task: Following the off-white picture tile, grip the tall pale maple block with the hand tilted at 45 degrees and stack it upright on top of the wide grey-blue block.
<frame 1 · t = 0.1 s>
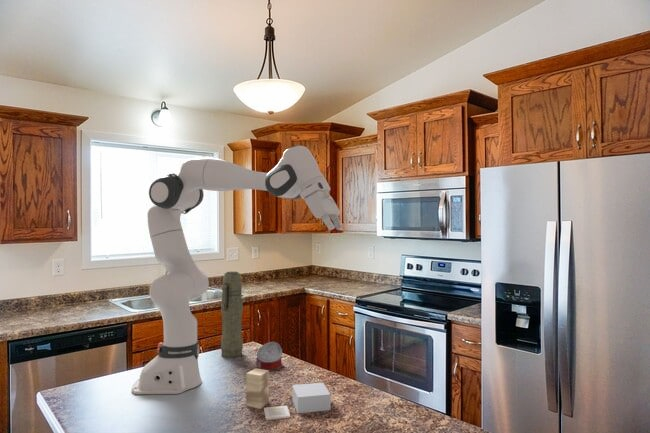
hand: (336, 229, 139), 54 cm above the countertop, tool tilted 30°, fingers open, 8 cm apart
maple block: (257, 404, 137), on the countertop
canned food: (269, 366, 173), on the countertop
thermos: (231, 355, 187), on the countertop
picture tile: (276, 413, 130), on the countertop
grey-blue block: (310, 405, 136), on the countertop
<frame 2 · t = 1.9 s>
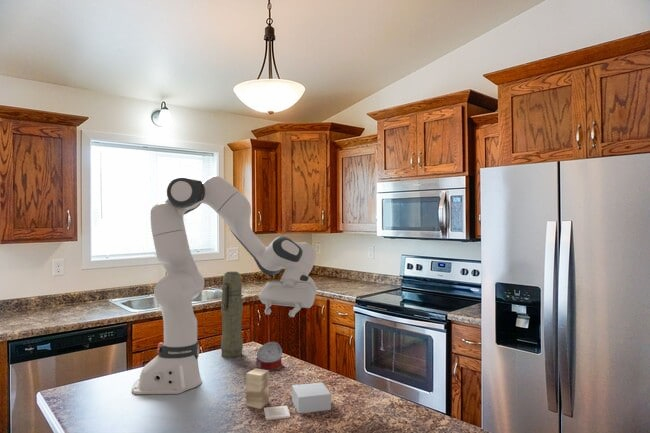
hand: (278, 314, 148), 25 cm above the countertop, tool tilted 45°, fingers open, 8 cm apart
nothing on the countertop moved.
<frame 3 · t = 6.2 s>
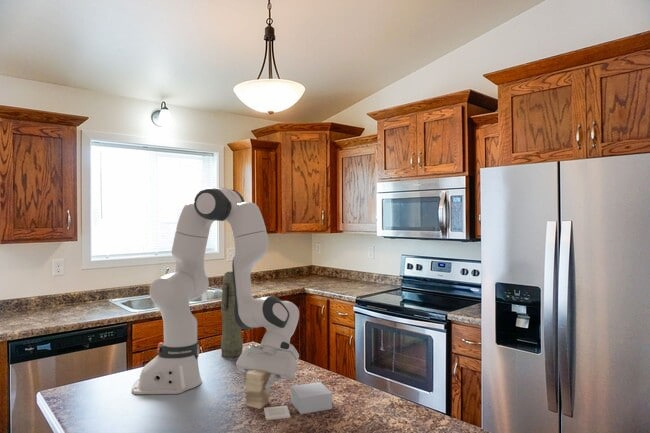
hand: (256, 387, 136), 5 cm above the countertop, tool tilted 45°, fingers closed on maple block, 5 cm apart
maple block: (257, 404, 137), on the countertop, touching gripper
everything else where it was.
when the fingers open (12 cm above the countertop, at t = 12.4 s): maple block drops 2 cm, resting on grey-blue block.
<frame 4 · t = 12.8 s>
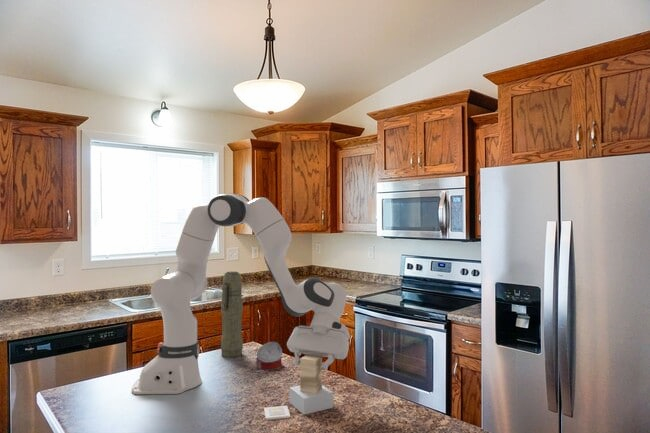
hand: (309, 366, 136), 12 cm above the countertop, tool tilted 45°, fingers open, 8 cm apart
maple block: (311, 389, 136), point 5 cm above the countertop, touching grey-blue block
grey-blue block: (311, 405, 136), on the countertop, touching maple block
everything else where it was.
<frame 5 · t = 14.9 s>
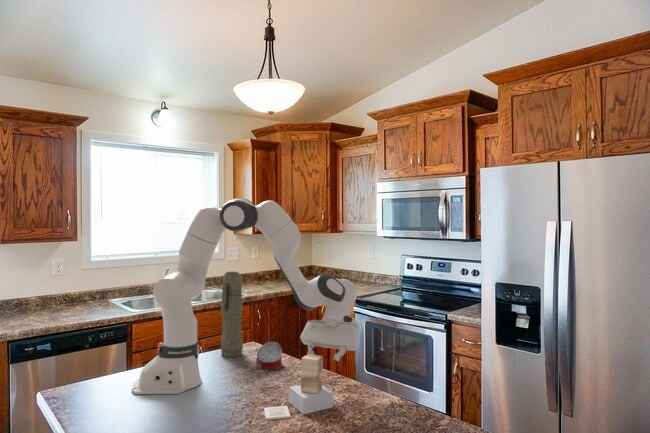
hand: (322, 358, 144), 12 cm above the countertop, tool tilted 45°, fingers open, 8 cm apart
maple block: (311, 389, 136), point 5 cm above the countertop
grey-blue block: (310, 405, 136), on the countertop
everything else where it was.
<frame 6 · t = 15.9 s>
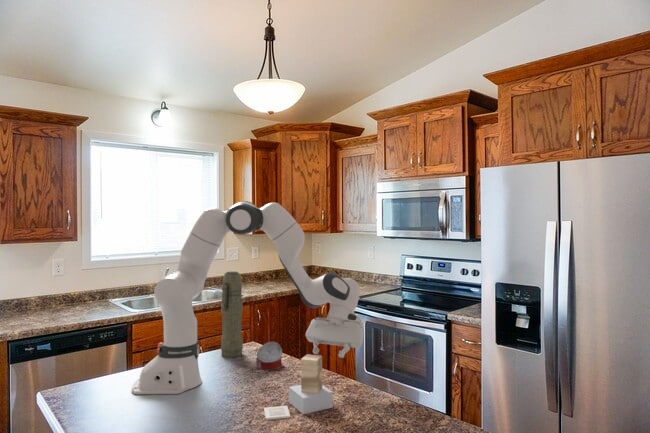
hand: (327, 354, 147), 12 cm above the countertop, tool tilted 45°, fingers open, 8 cm apart
maple block: (312, 389, 136), point 5 cm above the countertop, touching grey-blue block
grey-blue block: (310, 405, 136), on the countertop, touching maple block
everything else where it was.
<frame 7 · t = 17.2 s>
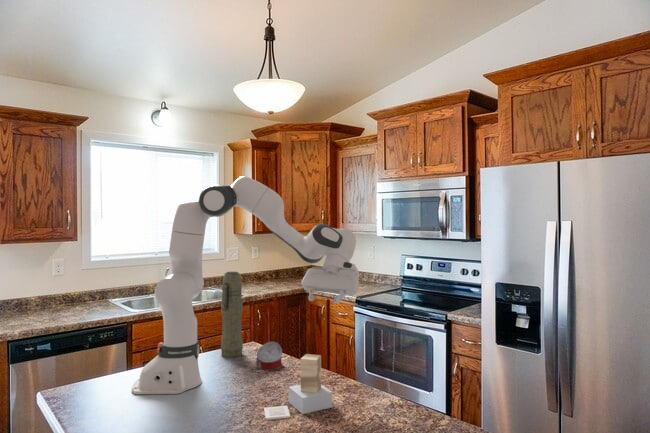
hand: (323, 301, 148), 30 cm above the countertop, tool tilted 45°, fingers open, 8 cm apart
maple block: (311, 389, 136), point 5 cm above the countertop
grey-blue block: (310, 405, 137), on the countertop
everything else where it was.
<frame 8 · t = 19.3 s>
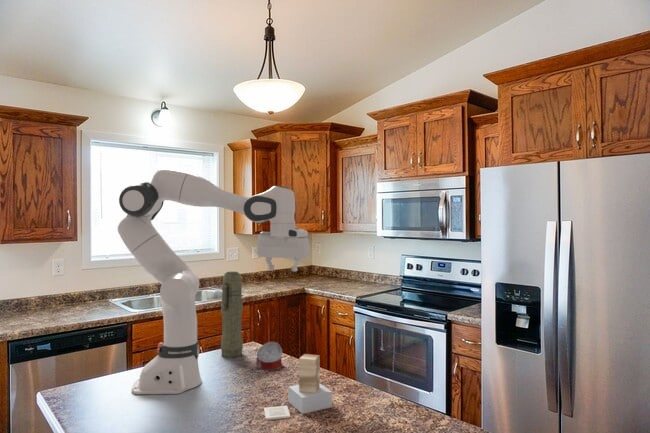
hand: (282, 270, 157), 39 cm above the countertop, tool pointing down, fingers open, 8 cm apart
maple block: (309, 389, 136), point 5 cm above the countertop, touching grey-blue block
grey-blue block: (309, 405, 137), on the countertop, touching maple block
everything else where it was.
at the end: maple block 0.4 cm off-centre on the grey-blue block, point 5.1 cm above the grey-blue block's base; maple block tilted 2°; the gripper is holding nothing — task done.
